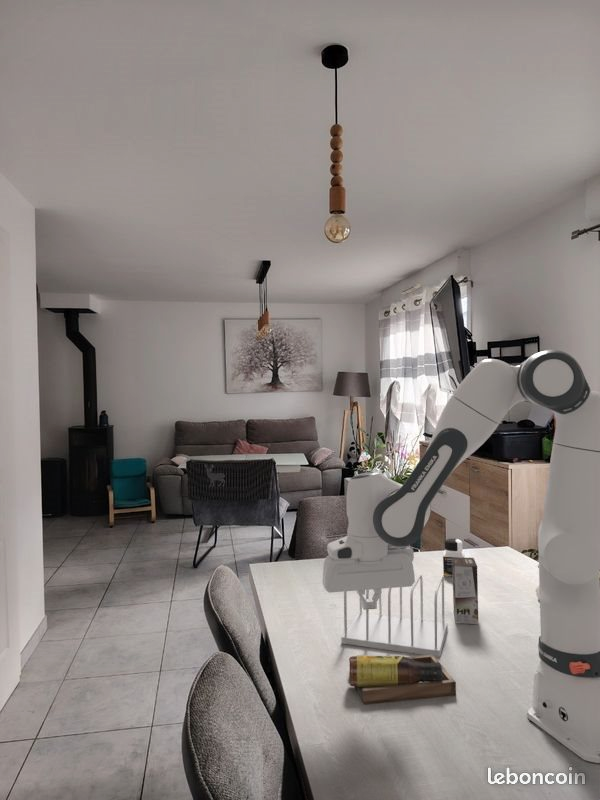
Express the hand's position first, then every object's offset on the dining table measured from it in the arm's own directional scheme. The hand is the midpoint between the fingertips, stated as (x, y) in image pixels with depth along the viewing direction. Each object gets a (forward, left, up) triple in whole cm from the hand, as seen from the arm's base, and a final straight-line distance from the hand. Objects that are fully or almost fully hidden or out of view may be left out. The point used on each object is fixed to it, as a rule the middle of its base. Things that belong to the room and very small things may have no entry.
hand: (369, 608), depth 124 cm
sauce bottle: (0, +5, -13) cm, 14 cm away
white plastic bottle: (+71, -49, -17) cm, 88 cm away
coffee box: (+32, -36, -17) cm, 51 cm away
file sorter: (+24, -13, -18) cm, 32 cm away
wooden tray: (0, -6, -17) cm, 18 cm away
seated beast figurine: (+39, -66, -17) cm, 79 cm away
